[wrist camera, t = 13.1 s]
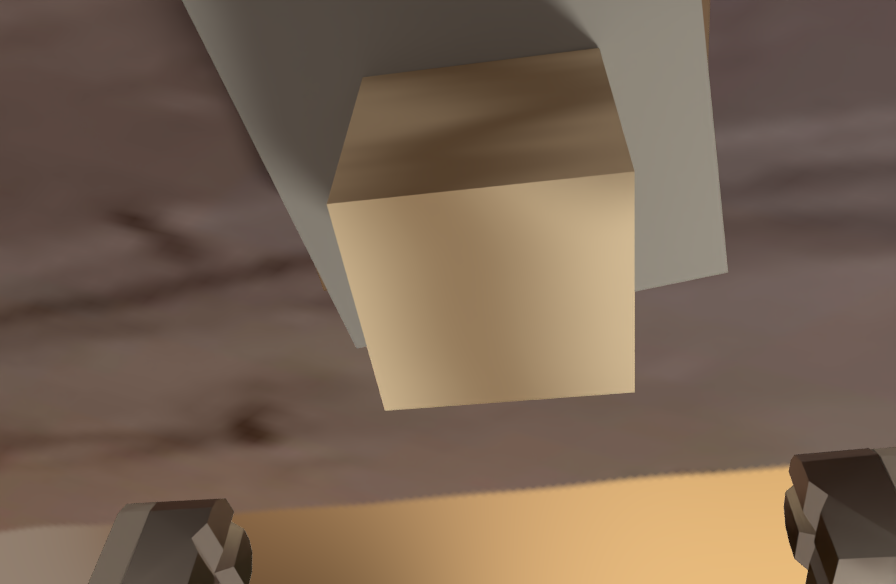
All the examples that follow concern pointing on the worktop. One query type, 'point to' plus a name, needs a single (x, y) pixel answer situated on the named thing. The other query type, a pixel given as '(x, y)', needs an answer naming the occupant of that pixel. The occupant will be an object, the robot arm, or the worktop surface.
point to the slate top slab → (466, 42)
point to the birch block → (490, 231)
